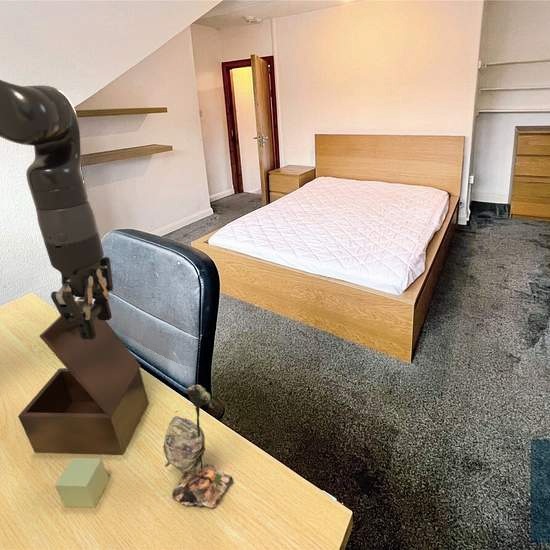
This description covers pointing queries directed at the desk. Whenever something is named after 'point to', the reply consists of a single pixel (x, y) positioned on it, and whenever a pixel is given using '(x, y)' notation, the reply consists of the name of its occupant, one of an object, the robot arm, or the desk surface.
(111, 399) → the lid
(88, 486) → the block
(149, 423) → the desk surface
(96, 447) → the chest
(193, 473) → the plant with pod
